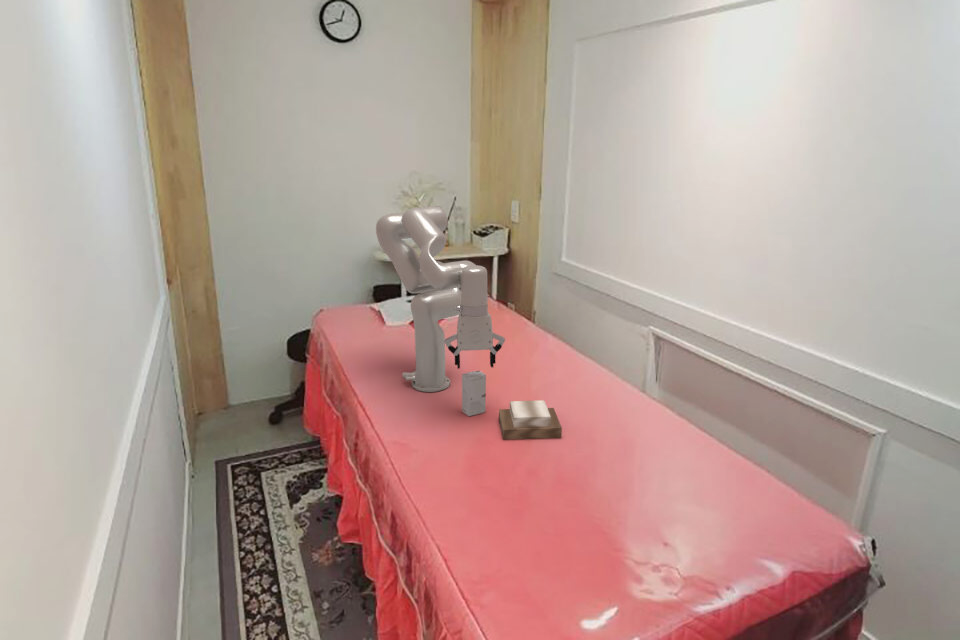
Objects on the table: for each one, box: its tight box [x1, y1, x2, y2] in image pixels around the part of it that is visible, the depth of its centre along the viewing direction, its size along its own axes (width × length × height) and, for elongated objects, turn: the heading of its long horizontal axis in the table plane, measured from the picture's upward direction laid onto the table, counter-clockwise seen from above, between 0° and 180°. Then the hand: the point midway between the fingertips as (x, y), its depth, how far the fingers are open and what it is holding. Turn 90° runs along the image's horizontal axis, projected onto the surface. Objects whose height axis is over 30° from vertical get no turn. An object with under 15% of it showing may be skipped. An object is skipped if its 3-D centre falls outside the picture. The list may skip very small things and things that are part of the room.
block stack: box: [498, 399, 563, 440], centre depth 164 cm, size 16×12×6 cm
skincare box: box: [461, 369, 487, 417], centre depth 172 cm, size 6×4×12 cm
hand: (475, 366), depth 169 cm, fingers open, 9 cm apart
